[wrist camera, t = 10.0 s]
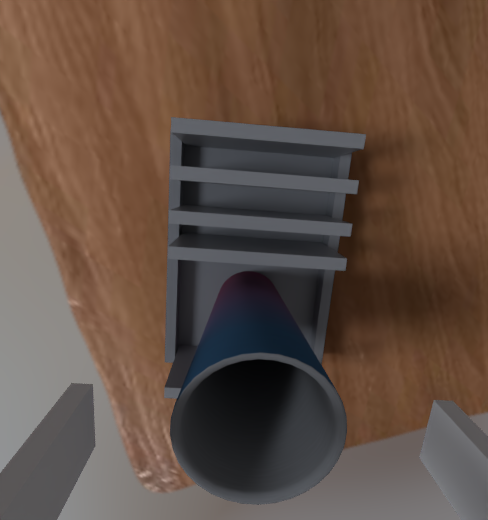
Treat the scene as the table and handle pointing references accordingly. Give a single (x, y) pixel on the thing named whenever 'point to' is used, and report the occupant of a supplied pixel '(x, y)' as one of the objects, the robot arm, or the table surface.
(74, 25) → the table surface
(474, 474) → the robot arm
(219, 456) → the cup
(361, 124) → the table surface
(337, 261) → the rack
